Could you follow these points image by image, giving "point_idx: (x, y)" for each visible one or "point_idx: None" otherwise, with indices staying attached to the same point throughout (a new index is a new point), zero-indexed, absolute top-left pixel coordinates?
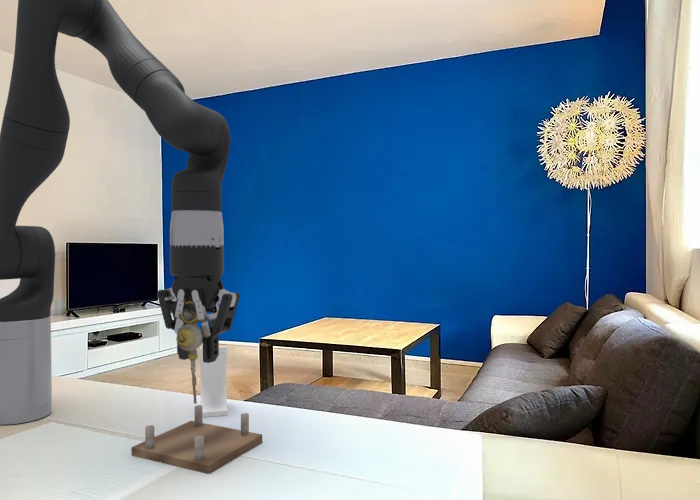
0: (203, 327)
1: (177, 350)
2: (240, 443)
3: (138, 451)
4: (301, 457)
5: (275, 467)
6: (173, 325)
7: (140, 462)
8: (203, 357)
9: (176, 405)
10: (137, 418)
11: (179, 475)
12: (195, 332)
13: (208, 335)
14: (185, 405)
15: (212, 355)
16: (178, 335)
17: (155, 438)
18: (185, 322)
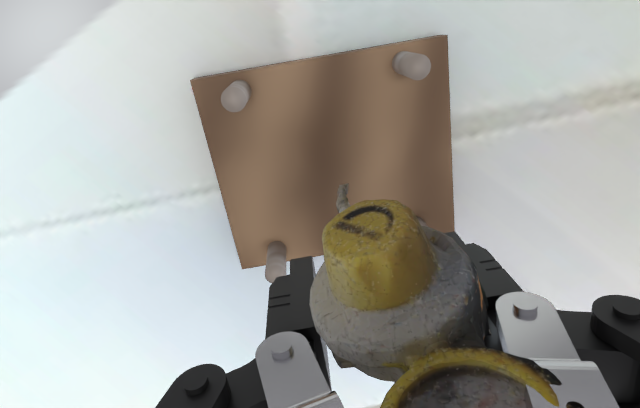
0: (310, 370)
1: (485, 252)
2: (238, 207)
3: (420, 39)
4: (114, 252)
5: (114, 188)
6: (593, 330)
7: (388, 23)
8: (307, 263)
9: (591, 292)
10: (617, 190)
11: (247, 34)
12: (337, 313)
13: (267, 341)
14: (571, 303)
15: (270, 289)
16: (394, 220)
17: (440, 109)
18: (459, 349)
